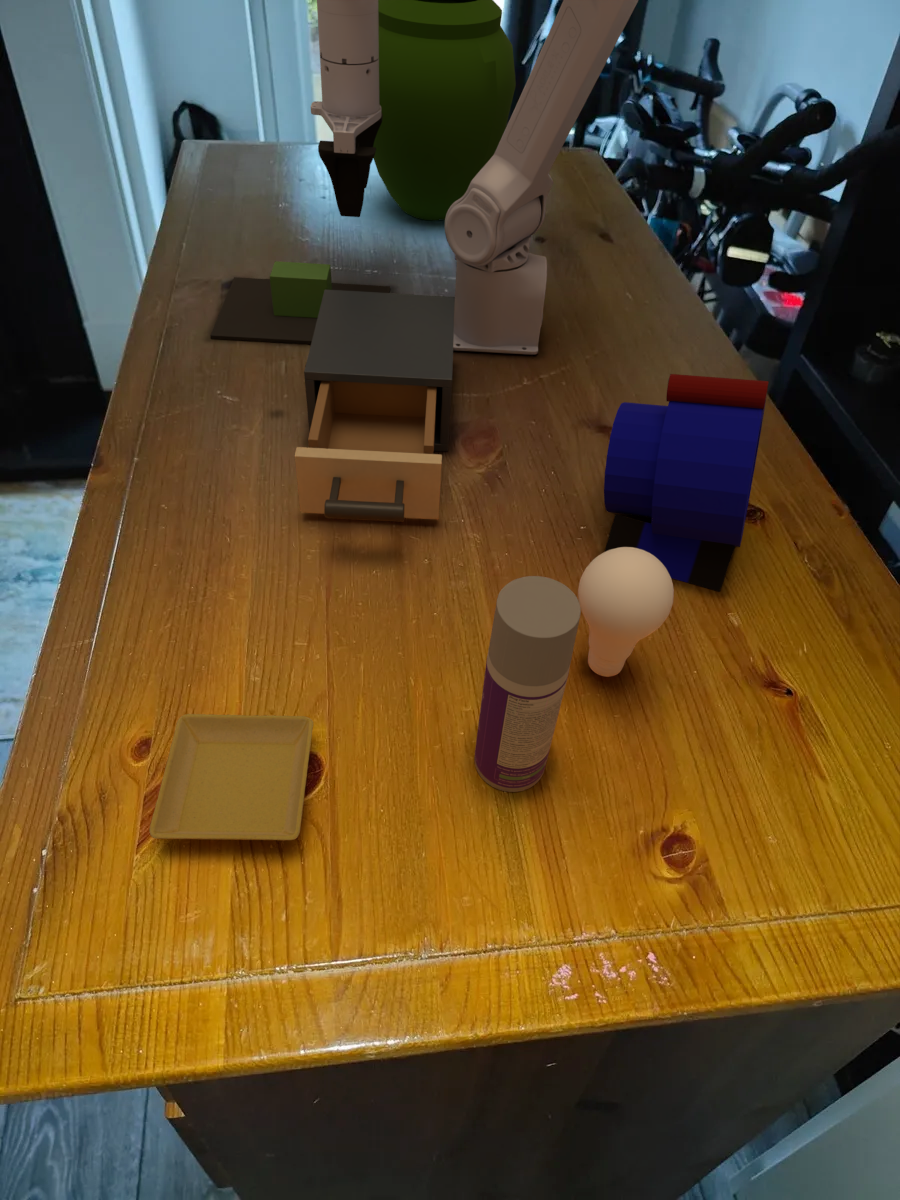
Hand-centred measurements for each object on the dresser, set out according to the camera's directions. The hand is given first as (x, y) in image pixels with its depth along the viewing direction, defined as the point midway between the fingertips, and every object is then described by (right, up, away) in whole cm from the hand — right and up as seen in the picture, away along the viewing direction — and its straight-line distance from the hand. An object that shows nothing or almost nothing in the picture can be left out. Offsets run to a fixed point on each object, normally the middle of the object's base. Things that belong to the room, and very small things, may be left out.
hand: (354, 200), depth 92 cm
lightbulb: (+21, -49, -31) cm, 61 cm away
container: (+14, -54, -36) cm, 67 cm away
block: (-6, -11, +1) cm, 13 cm away
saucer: (-3, -55, -39) cm, 68 cm away
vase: (+8, +9, +22) cm, 25 cm away
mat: (-6, -12, +2) cm, 13 cm away
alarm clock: (+29, -37, -20) cm, 51 cm away
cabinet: (+4, -24, -9) cm, 26 cm away
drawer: (+4, -33, -19) cm, 38 cm away
